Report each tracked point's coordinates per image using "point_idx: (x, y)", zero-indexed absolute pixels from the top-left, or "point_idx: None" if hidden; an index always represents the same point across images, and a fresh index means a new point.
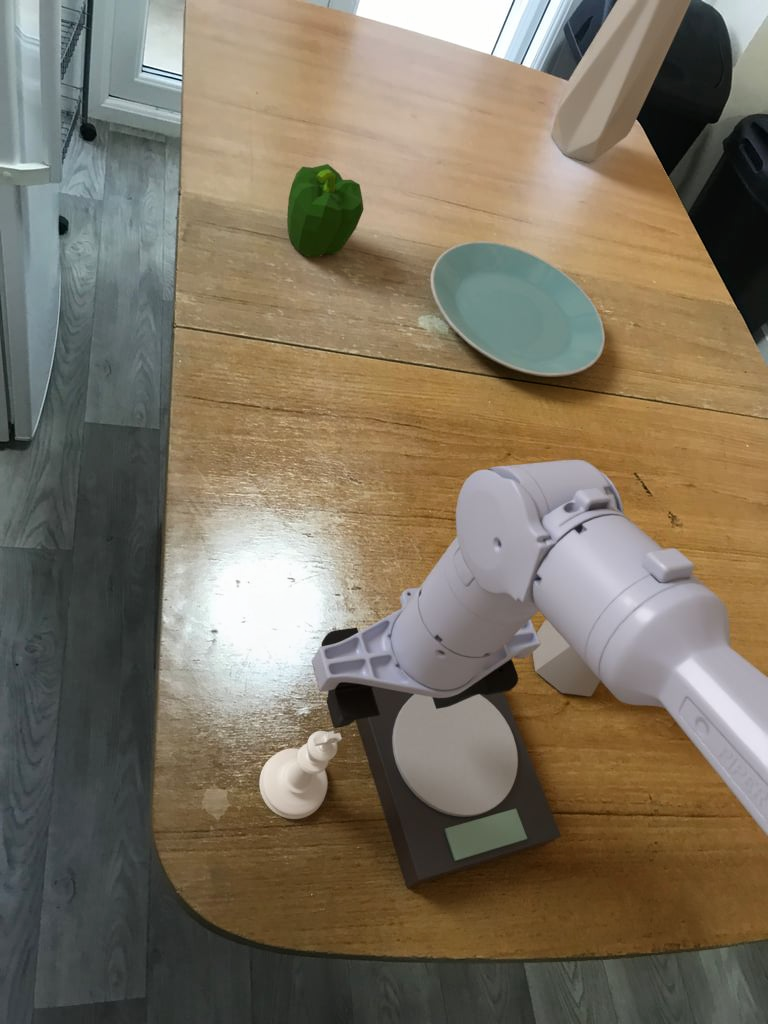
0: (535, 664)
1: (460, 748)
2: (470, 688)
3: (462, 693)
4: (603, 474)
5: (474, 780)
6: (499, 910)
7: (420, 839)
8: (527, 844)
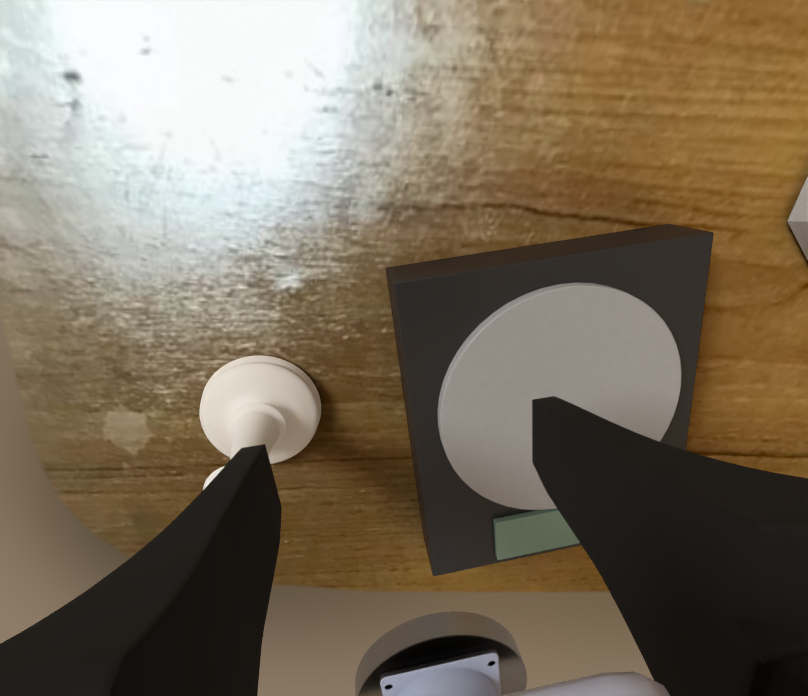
0: (797, 207)
1: None
2: (646, 646)
3: (612, 586)
4: None
5: None
6: (543, 557)
7: (450, 530)
8: None
